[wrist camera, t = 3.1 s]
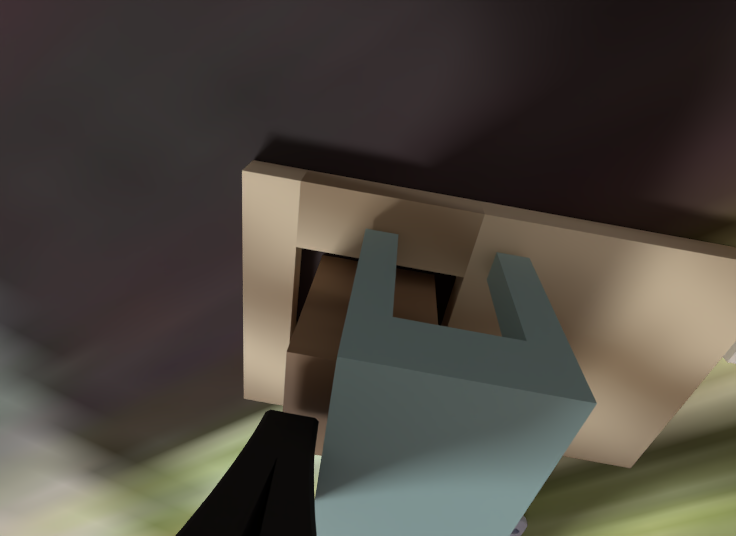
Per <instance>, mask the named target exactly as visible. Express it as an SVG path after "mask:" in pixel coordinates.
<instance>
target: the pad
mask: <svg viewBox="0 0 736 536" xmlns="http://www.w3.org/2000/svg"><path fill="white" fill-rule="evenodd" d="M723 358H724V359H725V360H726V361H727V362H729V363H735V364H736V341H735V343H734V344H733V345H732V346H731V347H730V349H729V350H728V351H727V352H726V354H725V355H724V356H723Z"/></svg>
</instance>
